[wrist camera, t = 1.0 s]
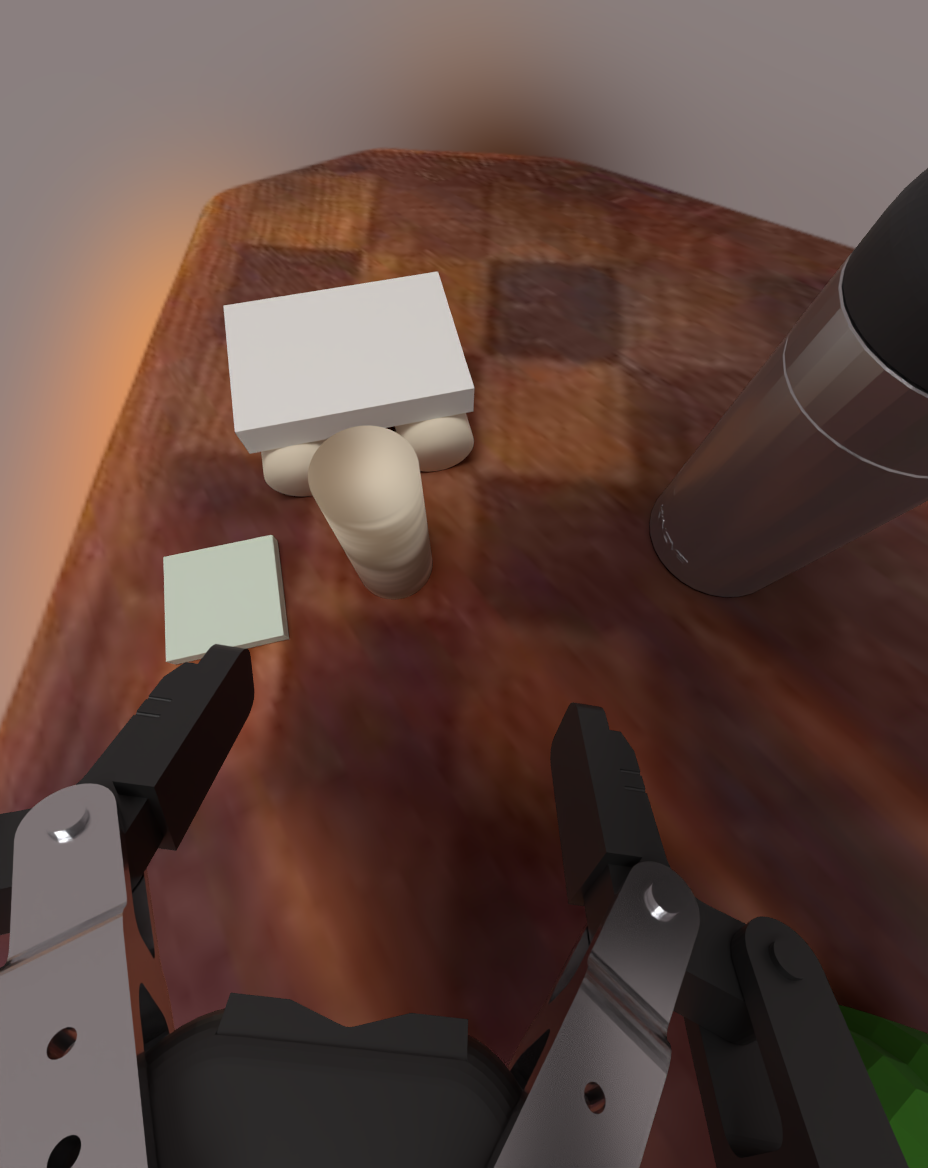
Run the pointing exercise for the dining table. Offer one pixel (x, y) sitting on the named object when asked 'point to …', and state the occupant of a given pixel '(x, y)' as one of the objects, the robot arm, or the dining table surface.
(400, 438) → the roller
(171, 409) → the dining table surface
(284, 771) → the dining table surface
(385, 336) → the slab rig
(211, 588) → the green mark
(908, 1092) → the bell pepper
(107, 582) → the dining table surface
